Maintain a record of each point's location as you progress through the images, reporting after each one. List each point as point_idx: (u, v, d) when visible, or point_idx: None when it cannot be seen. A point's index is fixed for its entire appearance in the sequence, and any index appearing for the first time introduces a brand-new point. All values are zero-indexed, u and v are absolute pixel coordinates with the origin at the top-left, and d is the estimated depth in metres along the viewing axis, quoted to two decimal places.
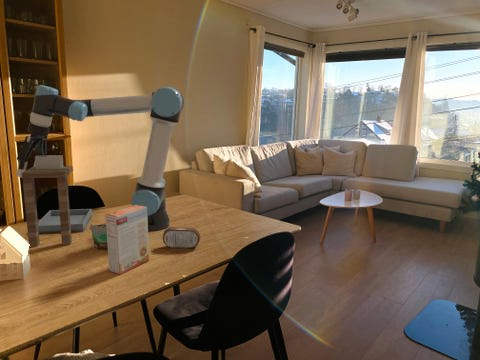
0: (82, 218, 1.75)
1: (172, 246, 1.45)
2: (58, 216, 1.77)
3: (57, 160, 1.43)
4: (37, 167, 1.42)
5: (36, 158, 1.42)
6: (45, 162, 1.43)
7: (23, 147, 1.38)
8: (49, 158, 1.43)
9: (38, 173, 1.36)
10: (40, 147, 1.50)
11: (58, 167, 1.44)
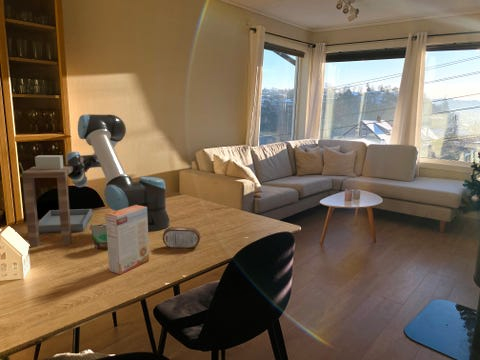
0: (82, 218, 1.75)
1: (172, 246, 1.45)
2: (58, 216, 1.77)
3: (57, 160, 1.43)
4: (37, 167, 1.42)
5: (36, 158, 1.42)
6: (45, 162, 1.43)
7: None
8: (49, 158, 1.43)
9: (38, 173, 1.36)
10: (78, 165, 1.83)
11: (58, 167, 1.44)
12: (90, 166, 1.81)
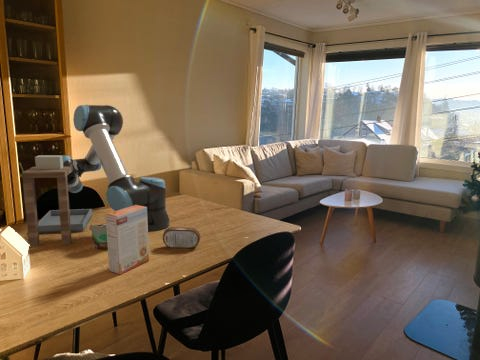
0: (82, 218, 1.75)
1: (172, 246, 1.45)
2: (58, 216, 1.77)
3: (57, 160, 1.43)
4: (37, 167, 1.42)
5: (36, 158, 1.42)
6: (45, 162, 1.43)
7: None
8: (49, 158, 1.43)
9: (38, 173, 1.36)
10: None
11: (58, 167, 1.44)
12: (84, 170, 1.67)
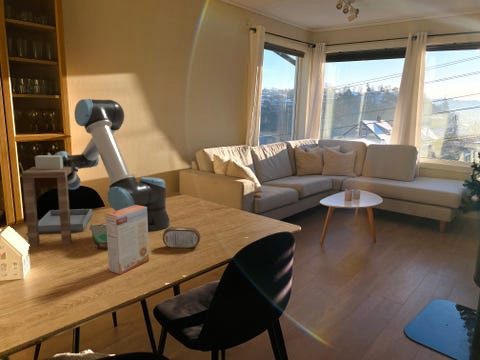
0: (82, 218, 1.75)
1: (172, 246, 1.45)
2: (58, 216, 1.77)
3: (57, 160, 1.43)
4: (37, 167, 1.42)
5: (36, 158, 1.42)
6: (45, 162, 1.43)
7: None
8: (49, 158, 1.43)
9: (38, 173, 1.36)
10: None
11: (58, 167, 1.44)
12: (69, 164, 1.58)
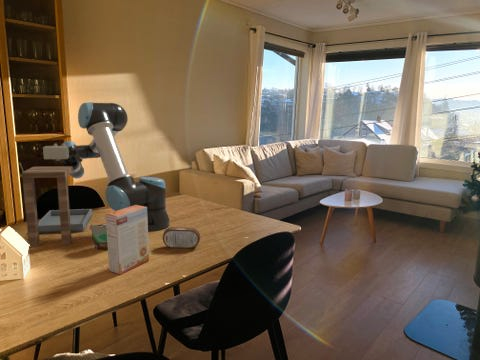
0: (82, 218, 1.75)
1: (172, 246, 1.45)
2: (58, 216, 1.77)
3: (64, 151, 1.53)
4: (45, 157, 1.52)
5: (44, 148, 1.51)
6: (52, 152, 1.52)
7: None
8: (56, 149, 1.52)
9: (38, 173, 1.36)
10: None
11: (64, 157, 1.54)
12: (74, 154, 1.68)
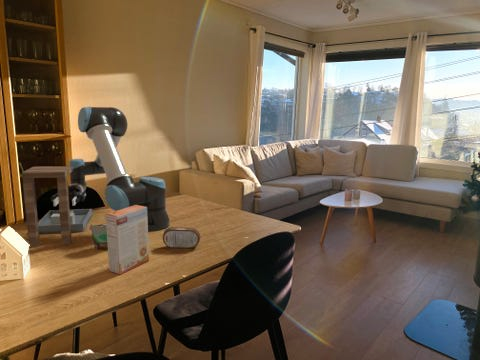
0: (82, 218, 1.75)
1: (172, 246, 1.45)
2: None
3: (70, 219, 1.62)
4: None
5: (51, 217, 1.61)
6: (59, 221, 1.62)
7: None
8: None
9: (38, 173, 1.36)
10: (74, 194, 1.78)
11: None
12: None
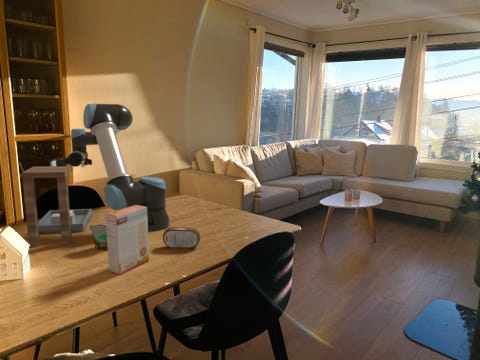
0: (82, 218, 1.75)
1: (172, 246, 1.45)
2: None
3: (70, 219, 1.62)
4: None
5: (51, 217, 1.61)
6: (59, 221, 1.62)
7: None
8: None
9: (38, 173, 1.36)
10: (79, 159, 1.85)
11: None
12: (91, 164, 1.83)
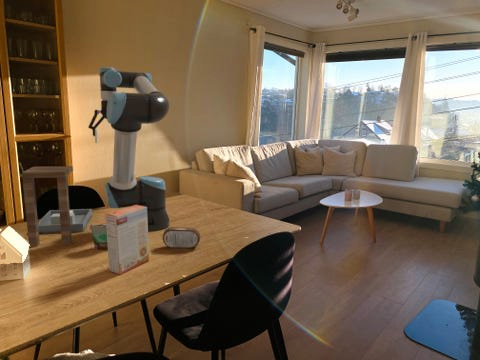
0: (82, 218, 1.75)
1: (172, 246, 1.45)
2: None
3: (70, 219, 1.62)
4: None
5: (51, 217, 1.61)
6: (59, 221, 1.62)
7: (92, 118, 1.78)
8: None
9: (38, 173, 1.36)
10: None
11: None
12: None
